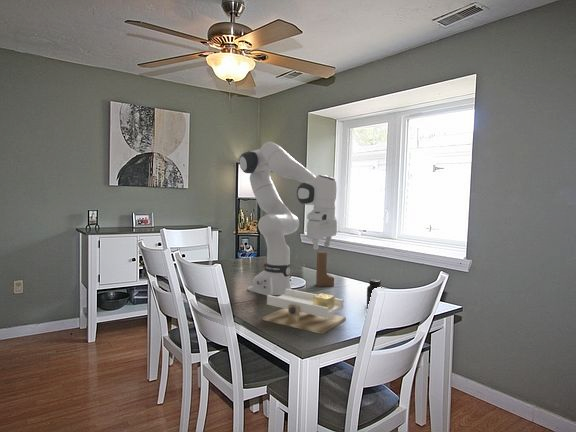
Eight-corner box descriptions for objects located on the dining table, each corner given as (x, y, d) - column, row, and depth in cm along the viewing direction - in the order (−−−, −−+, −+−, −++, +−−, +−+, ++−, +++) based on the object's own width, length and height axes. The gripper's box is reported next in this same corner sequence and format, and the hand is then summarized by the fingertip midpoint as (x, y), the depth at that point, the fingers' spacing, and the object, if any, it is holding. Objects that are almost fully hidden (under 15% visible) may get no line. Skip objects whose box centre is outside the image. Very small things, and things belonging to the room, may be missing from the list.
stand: (262, 319, 154) (262, 300, 154) (289, 307, 171) (290, 290, 170) (322, 334, 140) (323, 313, 140) (345, 319, 157) (346, 300, 157)
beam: (266, 304, 156) (267, 295, 156) (286, 296, 168) (286, 288, 168) (326, 317, 142) (326, 308, 142) (343, 308, 154) (343, 299, 154)
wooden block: (332, 284, 217) (333, 251, 216) (334, 286, 213) (335, 252, 212) (315, 284, 216) (317, 251, 215) (317, 286, 212) (318, 252, 210)
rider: (312, 306, 150) (313, 296, 150) (320, 303, 155) (320, 293, 155) (327, 309, 147) (327, 299, 146) (334, 306, 152) (334, 295, 152)
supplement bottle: (370, 303, 181) (372, 277, 180) (384, 307, 176) (386, 280, 176) (363, 307, 175) (364, 280, 175) (377, 310, 171) (378, 282, 170)
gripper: (328, 213, 174) (326, 244, 175) (304, 215, 156) (302, 249, 158) (341, 214, 170) (339, 246, 172) (319, 216, 153) (316, 252, 154)
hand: (321, 248), depth 165 cm, fingers open, 8 cm apart
